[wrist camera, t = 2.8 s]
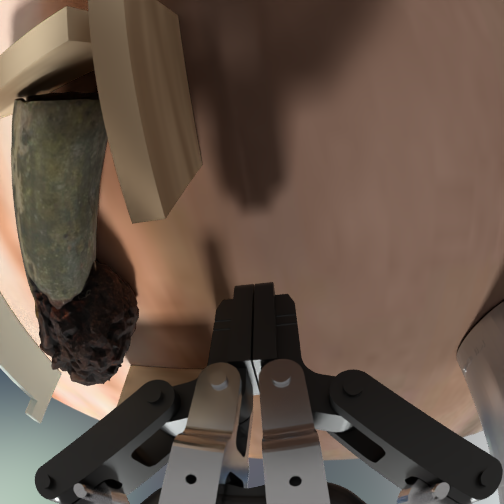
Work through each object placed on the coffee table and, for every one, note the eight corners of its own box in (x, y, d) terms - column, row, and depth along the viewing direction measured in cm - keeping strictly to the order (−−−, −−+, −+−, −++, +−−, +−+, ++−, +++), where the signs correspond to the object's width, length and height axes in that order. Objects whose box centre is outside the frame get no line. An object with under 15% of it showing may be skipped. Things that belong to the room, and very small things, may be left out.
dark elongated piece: (55, 87, 9) (-31, 109, 4) (177, 101, 10) (112, 117, 5) (68, 327, 18) (41, 382, 14) (143, 354, 19) (124, 417, 15)
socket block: (178, 15, 7) (121, -23, 3) (250, 377, 20) (247, 436, 15) (15, 93, 8) (-55, 116, 4) (136, 372, 21) (121, 422, 16)
